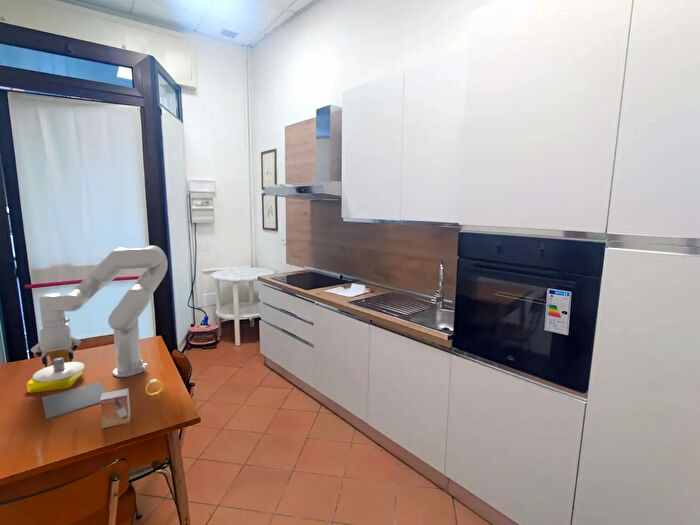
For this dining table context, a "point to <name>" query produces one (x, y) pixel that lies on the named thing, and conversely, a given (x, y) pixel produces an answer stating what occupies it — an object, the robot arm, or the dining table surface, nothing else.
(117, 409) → the small box
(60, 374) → the lid
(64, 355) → the disposable coffee cup
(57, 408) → the mat
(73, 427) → the dining table surface
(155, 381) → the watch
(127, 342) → the robot arm
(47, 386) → the element tile
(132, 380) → the dining table surface
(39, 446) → the dining table surface
